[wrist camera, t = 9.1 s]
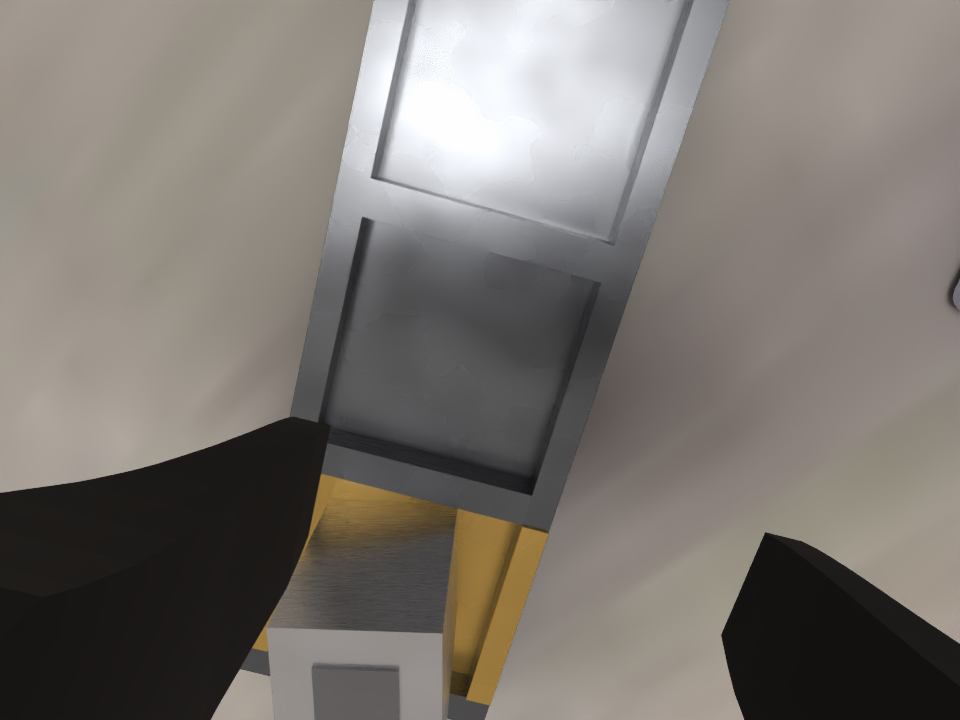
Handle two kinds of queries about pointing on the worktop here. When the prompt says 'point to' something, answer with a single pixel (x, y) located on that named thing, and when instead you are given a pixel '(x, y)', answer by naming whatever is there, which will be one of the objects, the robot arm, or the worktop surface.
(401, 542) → the brushed steel square tube
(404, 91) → the silver divided tray
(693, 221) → the worktop surface
